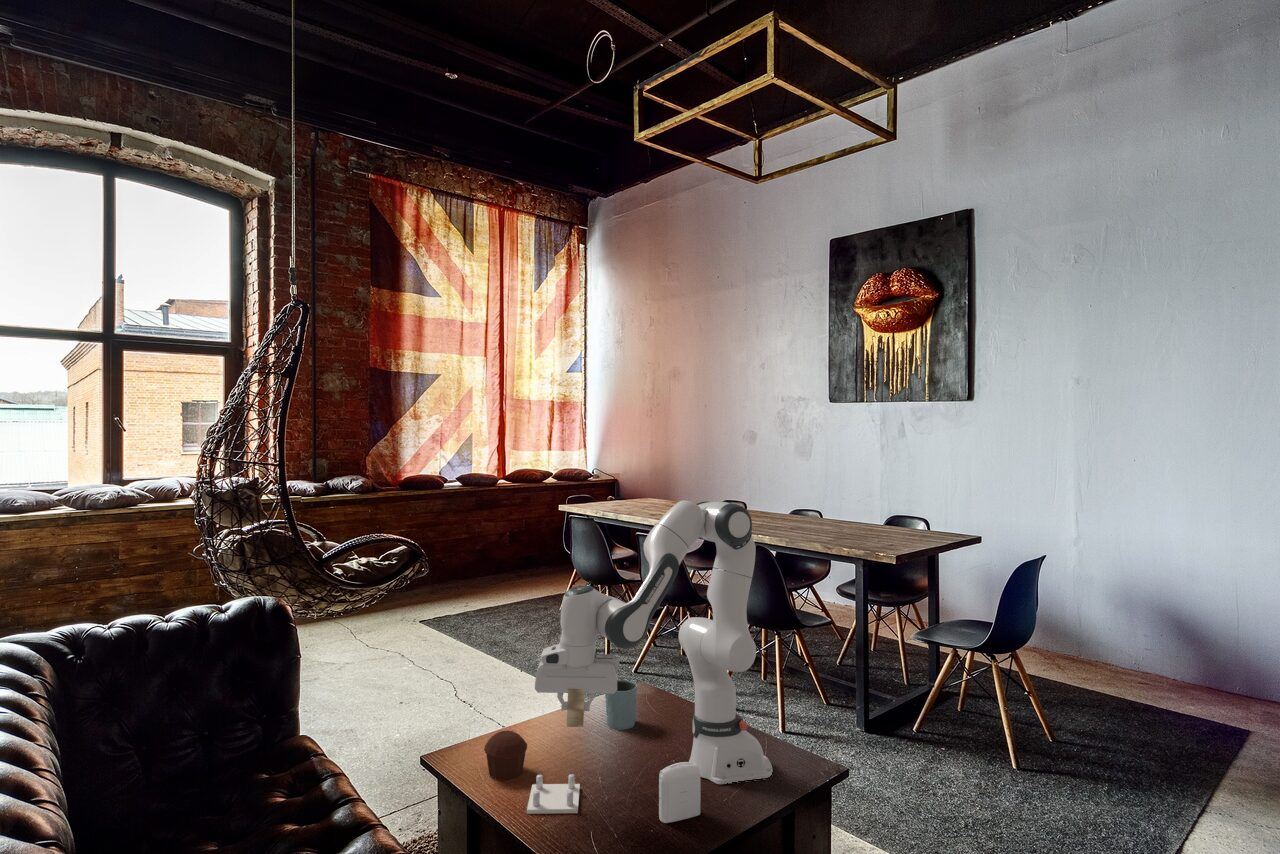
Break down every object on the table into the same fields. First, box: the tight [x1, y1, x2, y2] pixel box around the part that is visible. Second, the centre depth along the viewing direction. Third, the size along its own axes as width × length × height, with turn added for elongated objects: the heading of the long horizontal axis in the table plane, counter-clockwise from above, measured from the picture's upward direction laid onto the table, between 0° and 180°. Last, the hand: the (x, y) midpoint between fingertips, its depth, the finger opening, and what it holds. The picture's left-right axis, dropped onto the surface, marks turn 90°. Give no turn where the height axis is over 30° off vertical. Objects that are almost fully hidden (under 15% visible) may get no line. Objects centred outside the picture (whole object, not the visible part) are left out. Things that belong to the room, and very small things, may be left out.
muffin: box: [483, 730, 528, 781], centre depth 187 cm, size 12×11×10 cm
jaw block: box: [566, 689, 586, 728], centre depth 173 cm, size 4×4×9 cm
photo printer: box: [658, 761, 702, 824], centre depth 166 cm, size 10×4×12 cm, turn 114°
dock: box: [526, 773, 581, 815], centre depth 173 cm, size 12×12×4 cm
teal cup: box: [604, 679, 638, 731], centre depth 218 cm, size 10×10×12 cm
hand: (575, 710), depth 173 cm, fingers closed on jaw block, 4 cm apart
